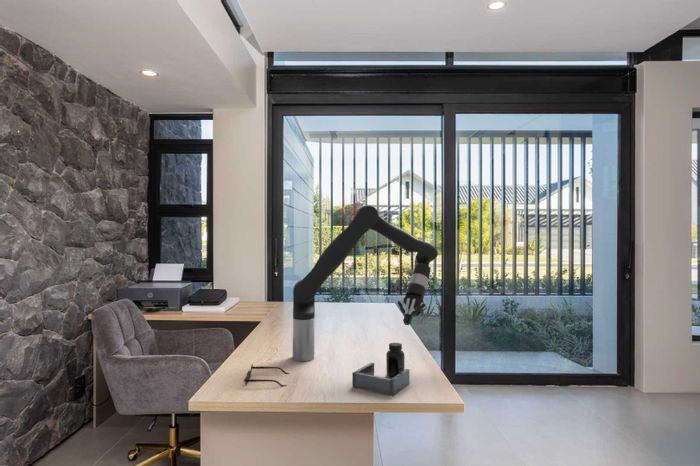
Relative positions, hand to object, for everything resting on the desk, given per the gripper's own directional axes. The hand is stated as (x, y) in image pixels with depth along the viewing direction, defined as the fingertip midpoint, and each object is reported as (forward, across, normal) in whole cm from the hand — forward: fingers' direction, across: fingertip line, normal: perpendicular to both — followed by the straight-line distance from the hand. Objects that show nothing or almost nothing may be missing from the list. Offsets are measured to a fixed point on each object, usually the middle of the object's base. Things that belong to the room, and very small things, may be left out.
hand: (406, 324), depth 169 cm
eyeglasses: (+39, -35, -22) cm, 57 cm away
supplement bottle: (+21, +1, +2) cm, 21 cm away
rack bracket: (+27, +1, -7) cm, 28 cm away
